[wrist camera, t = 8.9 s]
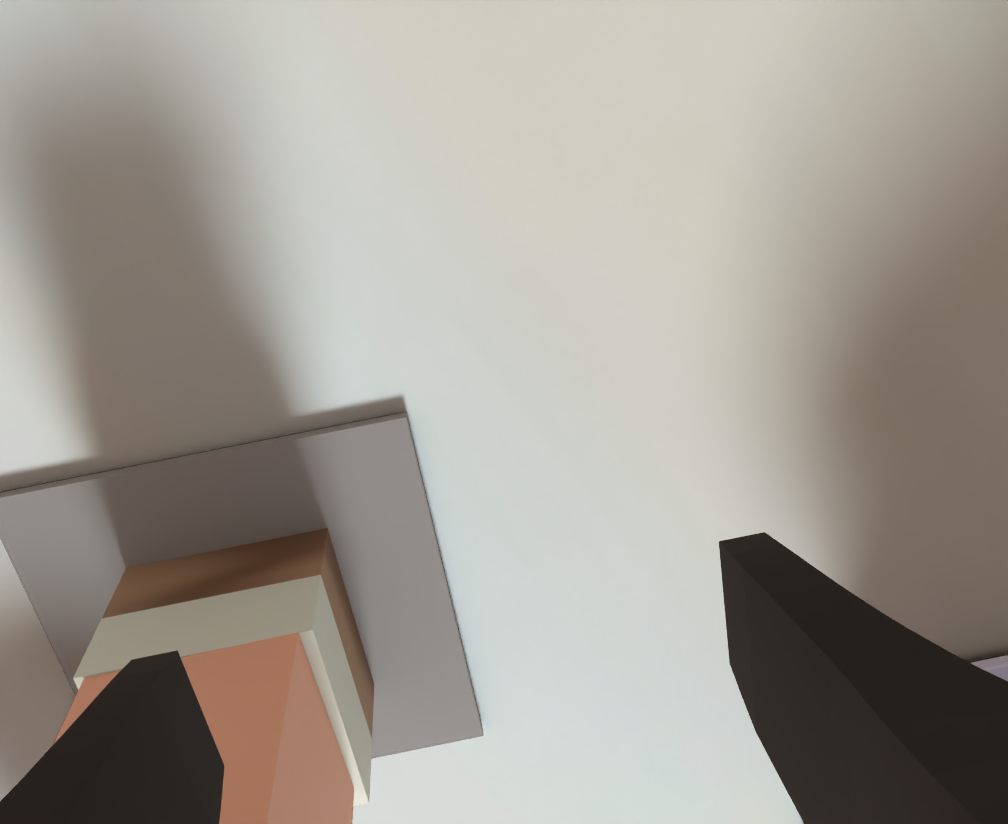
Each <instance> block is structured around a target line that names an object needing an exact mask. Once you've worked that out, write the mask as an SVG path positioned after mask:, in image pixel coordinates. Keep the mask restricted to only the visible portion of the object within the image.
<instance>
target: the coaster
mask: <svg viewBox="0 0 1008 824" xmlns="http://www.w3.org/2000/svg"><path fill="white" fill-rule="evenodd" d="M325 528H328V531H329V535H330V538H331V541H332V545H333V548H334V551H335V555H336V558H337V561H338V565H339V568H340V571H341V575H342V578H343V581H344V585H345V588H346V592H347V595H348V598H349V602H350V605H351V608H352V612H353V615H354V618H355V622H356V625H357V628H358V632H359V635H360V638H361V642H362V645H363V648H364V652H365V655H366V658H367V662H368V665H369V668H370V672H371V675H372V678H373V682H374V705H373V727H372V750H371V759H372V758H376V757H381V756H386V755H391V754H396V753H401V752H406V751H411V750H416V749H421V748H426V747H431V746H435V745H440V744H445V743H450V742H455V741H460V740H465V739H470V738H475V737H480V736H483V729H482V725H481V720H480V716H479V712H478V708H477V704H476V700H475V696H474V691H473V687H472V683H471V679H470V675H469V671H468V667H467V662H466V658H465V654H464V650H463V646H462V642H461V638H460V633H459V629H458V625H457V621H456V617H455V613H454V609H453V604H452V600H451V596H450V592H449V588H448V584H447V580H446V576H445V571H444V567H443V563H442V559H441V555H440V551H439V547H438V542H437V538H436V534H435V530H434V526H433V522H432V518H431V513H430V509H429V505H428V501H427V497H426V493H425V489H424V484H423V480H422V476H421V472H420V468H419V464H418V460H417V455H416V451H415V447H414V443H413V439H412V435H411V431H410V426H409V422H408V418H407V414H406V412H404V413H399V414H394V415H389V416H384V417H378V418H373V419H368V420H363V421H358V422H353V423H348V424H343V425H338V426H333V427H328V428H323V429H318V430H313V431H308V432H303V433H298V434H293V435H288V436H283V437H278V438H273V439H268V440H262V441H257V442H252V443H247V444H242V445H237V446H232V447H227V448H222V449H217V450H212V451H207V452H202V453H197V454H192V455H187V456H182V457H177V458H172V459H167V460H162V461H157V462H152V463H146V464H141V465H136V466H131V467H126V468H121V469H116V470H111V471H106V472H101V473H96V474H91V475H86V476H81V477H76V478H71V479H66V480H61V481H56V482H51V483H46V484H41V485H35V486H30V487H25V488H20V489H15V490H10V491H5V492H0V539H1V541H2V543H3V545H4V547H5V549H6V551H7V553H8V555H9V557H10V560H11V562H12V564H13V566H14V568H15V570H16V572H17V574H18V576H19V578H20V580H21V583H22V585H23V587H24V589H25V591H26V593H27V595H28V597H29V599H30V601H31V603H32V606H33V608H34V610H35V612H36V614H37V616H38V618H39V620H40V622H41V624H42V626H43V629H44V631H45V633H46V635H47V637H48V639H49V641H50V643H51V645H52V647H53V650H54V652H55V654H56V656H57V658H58V660H59V662H60V664H61V666H62V668H63V670H64V673H65V675H66V677H67V679H68V681H69V683H70V685H71V687H72V689H73V691H74V693H75V696H76V695H77V692H78V688H77V686H76V684H75V681H74V679H73V677H74V675H75V673H76V671H77V669H78V667H79V665H80V663H81V661H82V659H83V656H84V654H85V652H86V650H87V648H88V646H89V644H90V642H91V640H92V638H93V636H94V633H95V631H96V629H97V627H98V625H99V623H100V621H101V619H102V617H103V615H104V613H105V611H106V608H107V606H108V604H109V602H110V600H111V598H112V596H113V594H114V592H115V590H116V588H117V586H118V583H119V581H120V579H121V577H122V575H123V573H124V571H125V569H126V568H130V567H135V566H140V565H145V564H150V563H155V562H160V561H165V560H170V559H175V558H180V557H185V556H190V555H195V554H200V553H205V552H210V551H215V550H220V549H225V548H230V547H235V546H240V545H245V544H250V543H255V542H260V541H265V540H270V539H275V538H280V537H285V536H290V535H295V534H300V533H305V532H310V531H315V530H320V529H325Z"/></svg>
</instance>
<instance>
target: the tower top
mask: <svg viewBox="0 0 1008 824" xmlns="http://www.w3.org/2000/svg"><path fill="white" fill-rule="evenodd" d="M297 632H299V635H300V638H301V640H302V643H303V646H304V649H305V652H306V655H307V657H308V660H309V663H310V666H311V669H312V671H313V674H314V677H315V680H316V683H317V685H318V688H319V691H320V694H321V697H322V699H323V702H324V705H325V708H326V711H327V713H328V716H329V719H330V722H331V725H332V727H333V730H334V733H335V736H336V739H337V741H338V744H339V747H340V750H341V753H342V755H343V758H344V761H345V764H346V767H347V770H348V772H349V775H350V778H351V781H352V784H353V786H354V802H353V806H358V805H363V804H368V803H369V794H370V772H371V750H372V738H371V735H370V732H369V728H368V725H367V722H366V719H365V715H364V712H363V709H362V706H361V703H360V699H359V696H358V693H357V690H356V686H355V683H354V680H353V677H352V674H351V670H350V667H349V664H348V661H347V657H346V654H345V651H344V648H343V645H342V641H341V638H340V635H339V632H338V628H337V625H336V622H335V619H334V616H333V612H332V609H331V606H330V603H329V599H328V596H327V593H326V590H325V587H324V583H323V580H322V577H321V575H317V576H312V577H307V578H302V579H297V580H292V581H287V582H282V583H277V584H272V585H267V586H262V587H257V588H252V589H247V590H242V591H237V592H232V593H227V594H222V595H217V596H212V597H207V598H202V599H197V600H192V601H187V602H182V603H177V604H172V605H167V606H162V607H157V608H152V609H147V610H142V611H137V612H132V613H127V614H122V615H117V616H112V617H107V618H102V619H101V621H100V623H99V625H98V627H97V629H96V631H95V633H94V636H93V638H92V640H91V642H90V644H89V646H88V648H87V650H86V652H85V654H84V656H83V659H82V661H81V663H80V665H79V667H78V669H77V671H76V673H75V675H74V677H73V679H74V681H75V684H76V686H77V688H78V690H79V688H80V686H81V684H82V682H83V680H84V678H89V677H93V676H98V675H103V674H107V673H112V672H116V671H121V670H122V669H123V668H124V667H125V666H126V665H127V664H128V663H129V662H130V661H131V660H132V659H137V658H142V657H147V656H152V655H157V654H162V653H167V652H172V651H177V650H178V653H179V655H180V658H181V657H186V656H190V655H195V654H200V653H204V652H209V651H214V650H218V649H223V648H227V647H232V646H237V645H241V644H246V643H251V642H255V641H260V640H264V639H269V638H274V637H278V636H283V635H288V634H292V633H297Z"/></svg>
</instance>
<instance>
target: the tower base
mask: <svg viewBox="0 0 1008 824" xmlns="http://www.w3.org/2000/svg"><path fill="white" fill-rule="evenodd" d="M317 575H321V577H322V580H323V583H324V587H325V590H326V593H327V596H328V599H329V603H330V606H331V609H332V612H333V616H334V619H335V622H336V625H337V628H338V632H339V635H340V638H341V641H342V645H343V648H344V651H345V654H346V657H347V661H348V664H349V667H350V670H351V674H352V677H353V680H354V683H355V686H356V690H357V693H358V696H359V699H360V703H361V706H362V709H363V712H364V715H365V719H366V722H367V725H368V728H369V732H370V735H371V738H372V727H373V705H374V682H373V678H372V675H371V672H370V668H369V665H368V662H367V658H366V655H365V652H364V648H363V645H362V642H361V638H360V635H359V632H358V628H357V625H356V622H355V618H354V615H353V612H352V608H351V605H350V602H349V598H348V595H347V592H346V588H345V585H344V581H343V578H342V575H341V571H340V568H339V565H338V561H337V558H336V555H335V551H334V548H333V545H332V541H331V538H330V535H329V531H328V528H325V529H320V530H315V531H310V532H305V533H300V534H295V535H290V536H285V537H280V538H275V539H270V540H265V541H260V542H255V543H250V544H245V545H240V546H235V547H230V548H225V549H220V550H215V551H210V552H205V553H200V554H195V555H190V556H185V557H180V558H175V559H170V560H165V561H160V562H155V563H150V564H145V565H140V566H135V567H130V568H126V569H125V571H124V573H123V575H122V577H121V579H120V581H119V583H118V586H117V588H116V590H115V592H114V594H113V596H112V598H111V600H110V602H109V604H108V606H107V608H106V611H105V613H104V615H103V617H102V618H107V617H112V616H117V615H122V614H127V613H132V612H137V611H142V610H147V609H152V608H157V607H162V606H167V605H172V604H177V603H182V602H187V601H192V600H197V599H202V598H207V597H212V596H217V595H222V594H227V593H232V592H237V591H242V590H247V589H252V588H257V587H262V586H267V585H272V584H277V583H282V582H287V581H292V580H297V579H302V578H307V577H312V576H317Z"/></svg>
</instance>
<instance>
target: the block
mask: <svg viewBox="0 0 1008 824" xmlns="http://www.w3.org/2000/svg"><path fill="white" fill-rule="evenodd" d="M181 660H182V662H183V665H184V667H185V670H186V672H187V675H188V677H189V680H190V682H191V685H192V687H193V690H194V692H195V694H196V697H197V699H198V702H199V704H200V707H201V709H202V712H203V714H204V717H205V719H206V722H207V724H208V726H209V729H210V731H211V734H212V736H213V739H214V741H215V744H216V746H217V749H218V751H219V753H220V756H221V758H222V761H223V763H224V778H223V790H222V801H221V811H220V820H219V824H352V818H353V802H354V786H353V784H352V781H351V778H350V775H349V772H348V770H347V767H346V764H345V761H344V758H343V755H342V753H341V750H340V747H339V744H338V741H337V739H336V736H335V733H334V730H333V727H332V725H331V722H330V719H329V716H328V713H327V711H326V708H325V705H324V702H323V699H322V697H321V694H320V691H319V688H318V685H317V683H316V680H315V677H314V674H313V671H312V669H311V666H310V663H309V660H308V657H307V655H306V652H305V649H304V646H303V643H302V640H301V638H300V635H299V632H297V633H292V634H288V635H283V636H278V637H274V638H269V639H264V640H260V641H255V642H251V643H246V644H241V645H237V646H232V647H227V648H223V649H218V650H214V651H209V652H204V653H200V654H195V655H190V656H186V657H181ZM119 672H120V671H116V672H112V673H107V674H103V675H98V676H93V677H89V678H84V680H83V682H82V684H81V686H80V688H79V690H78V692H77V695H76V697H75V699H74V701H73V703H72V705H71V708H70V710H69V712H68V714H67V716H66V718H65V721H64V723H63V725H62V727H61V729H60V731H59V733H58V736H57V738H56V740H55V742H56V741H57V740H58V739H59V738H60V737H61V736H62V735H63V734H64V733H65V731H66V730H67V729H68V728H69V727H70V726H71V725H72V724H73V723H74V721H75V720H76V719H77V718H78V717H79V716H80V715H81V714H82V712H83V711H84V710H85V709H86V708H87V707H88V706H89V705H90V703H91V702H92V701H93V700H94V699H95V698H96V697H97V696H98V695H99V693H100V692H101V691H102V690H103V689H104V688H105V687H106V686H107V685H108V684H109V682H110V681H111V680H112V679H113V678H114V677H115V676H116V675H117V674H118V673H119ZM55 742H54V744H55ZM54 744H53V745H54Z"/></svg>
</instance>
